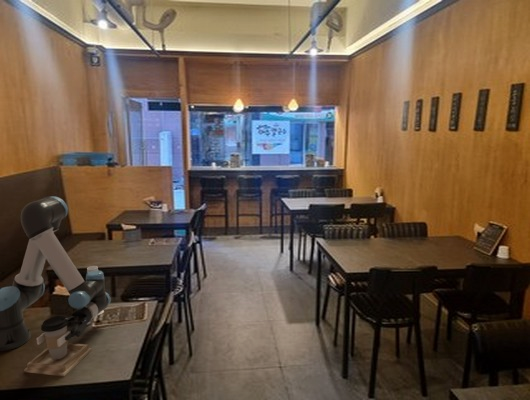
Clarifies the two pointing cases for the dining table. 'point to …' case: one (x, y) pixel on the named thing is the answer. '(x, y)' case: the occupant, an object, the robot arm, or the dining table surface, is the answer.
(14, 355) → the dining table surface
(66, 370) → the wooden tray
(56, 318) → the coffee cup
